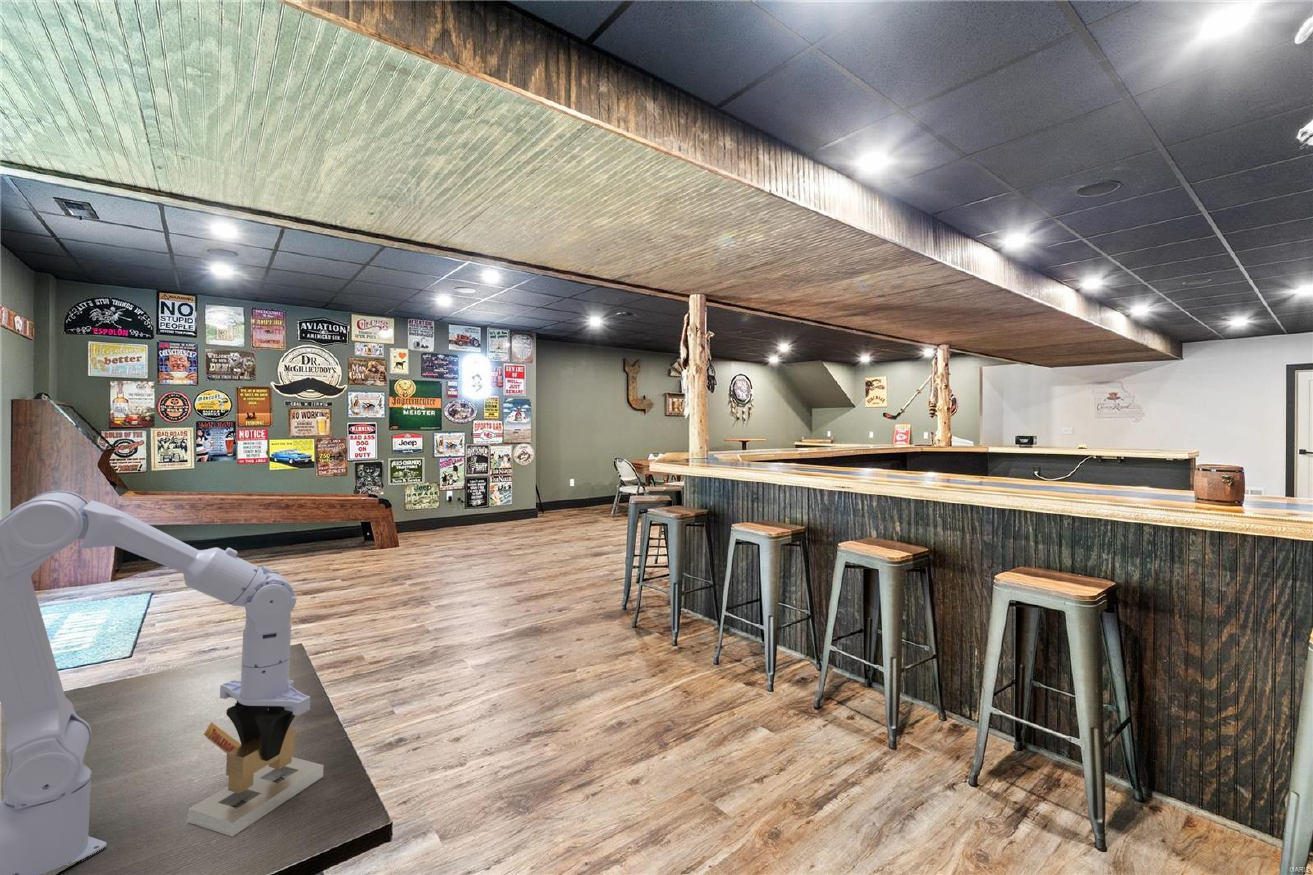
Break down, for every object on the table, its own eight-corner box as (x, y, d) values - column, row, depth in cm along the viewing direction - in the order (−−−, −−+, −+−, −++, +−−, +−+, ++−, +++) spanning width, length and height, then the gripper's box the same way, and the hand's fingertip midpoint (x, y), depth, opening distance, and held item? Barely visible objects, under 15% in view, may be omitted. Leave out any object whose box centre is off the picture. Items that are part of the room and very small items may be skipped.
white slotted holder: (232, 836, 75) (233, 822, 75) (187, 822, 77) (188, 808, 77) (322, 776, 88) (323, 765, 88) (282, 766, 90) (282, 754, 90)
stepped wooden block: (241, 794, 78) (243, 757, 78) (225, 789, 79) (227, 753, 79) (294, 763, 86) (295, 729, 86) (278, 758, 87) (279, 725, 87)
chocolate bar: (219, 732, 100) (220, 719, 100) (250, 755, 94) (251, 741, 94) (201, 738, 98) (202, 724, 98) (231, 762, 91) (232, 748, 91)
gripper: (329, 657, 84) (325, 750, 84) (254, 643, 88) (250, 731, 88) (286, 676, 77) (282, 777, 77) (206, 659, 82) (202, 755, 82)
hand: (262, 754), depth 82 cm, fingers closed on stepped wooden block, 3 cm apart
